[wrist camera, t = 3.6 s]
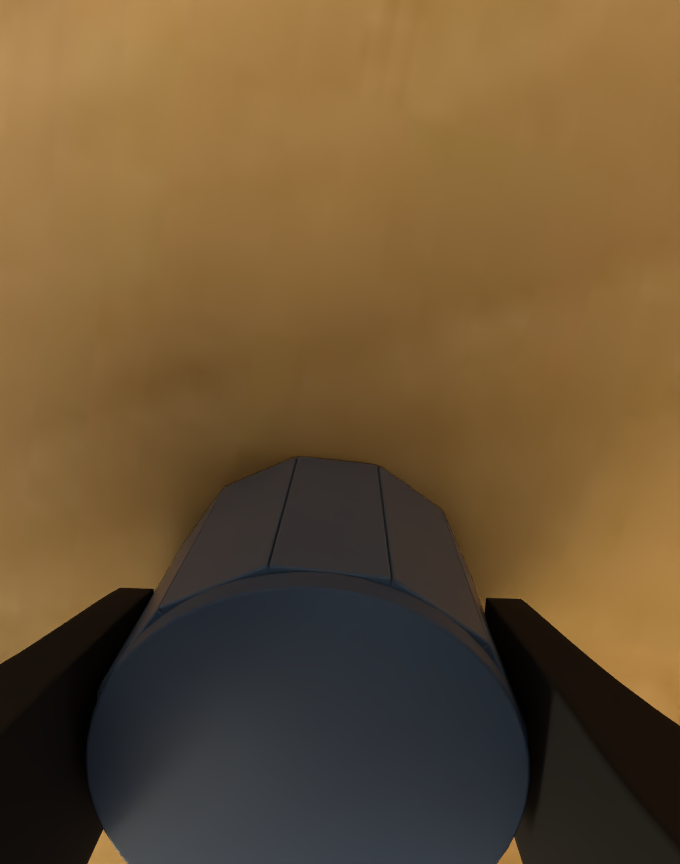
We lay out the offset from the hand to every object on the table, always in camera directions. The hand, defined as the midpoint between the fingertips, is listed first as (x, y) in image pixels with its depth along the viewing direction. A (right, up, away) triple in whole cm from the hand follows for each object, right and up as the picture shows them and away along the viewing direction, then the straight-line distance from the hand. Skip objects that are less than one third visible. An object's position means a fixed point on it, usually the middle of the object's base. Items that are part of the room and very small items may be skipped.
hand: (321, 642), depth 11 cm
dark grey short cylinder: (0, 0, +2) cm, 2 cm away
